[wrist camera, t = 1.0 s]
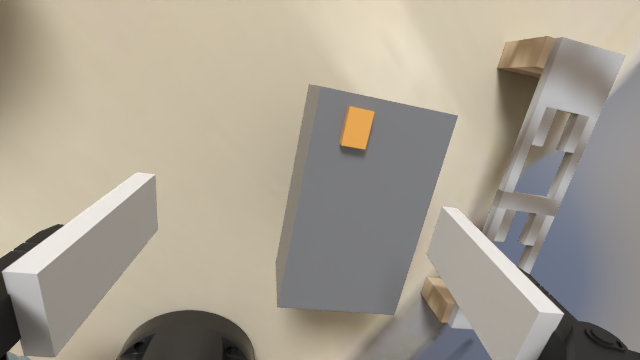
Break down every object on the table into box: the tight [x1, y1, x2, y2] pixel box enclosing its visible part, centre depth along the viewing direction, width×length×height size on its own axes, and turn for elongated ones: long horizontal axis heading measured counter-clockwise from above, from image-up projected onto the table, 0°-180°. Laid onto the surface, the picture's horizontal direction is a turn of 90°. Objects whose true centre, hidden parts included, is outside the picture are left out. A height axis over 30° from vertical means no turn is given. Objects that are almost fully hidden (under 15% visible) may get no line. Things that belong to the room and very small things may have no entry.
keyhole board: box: [421, 36, 625, 329], centre depth 34 cm, size 30×8×6 cm, turn 168°
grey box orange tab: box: [276, 85, 458, 315], centre depth 27 cm, size 16×9×12 cm, turn 168°
